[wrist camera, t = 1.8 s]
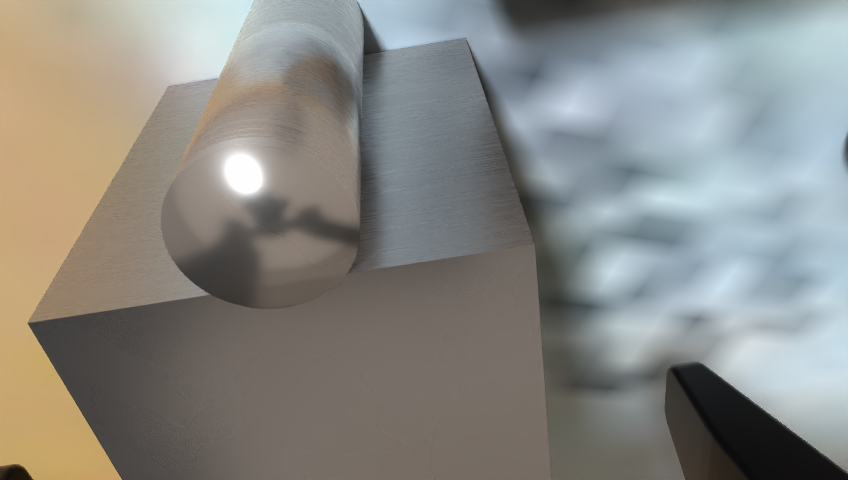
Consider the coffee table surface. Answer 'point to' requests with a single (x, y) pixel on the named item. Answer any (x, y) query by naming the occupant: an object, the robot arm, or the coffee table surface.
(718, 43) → the coffee table surface
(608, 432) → the coffee table surface
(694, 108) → the coffee table surface
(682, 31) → the coffee table surface
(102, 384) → the block
